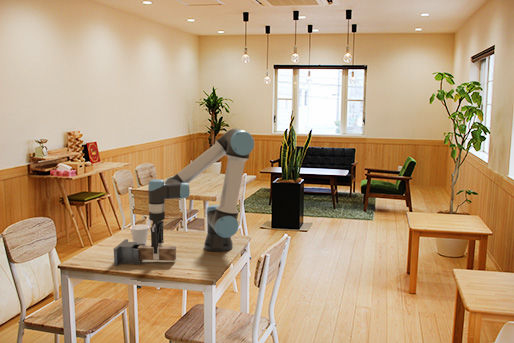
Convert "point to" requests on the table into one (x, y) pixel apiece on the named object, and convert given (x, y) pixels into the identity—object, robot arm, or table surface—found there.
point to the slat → (164, 253)
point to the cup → (139, 233)
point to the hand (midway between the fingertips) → (157, 257)
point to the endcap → (127, 253)
